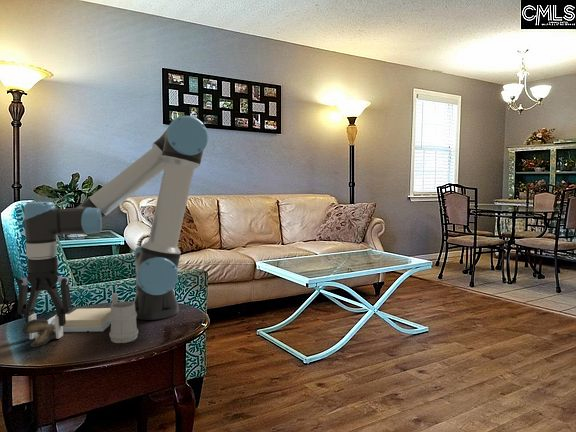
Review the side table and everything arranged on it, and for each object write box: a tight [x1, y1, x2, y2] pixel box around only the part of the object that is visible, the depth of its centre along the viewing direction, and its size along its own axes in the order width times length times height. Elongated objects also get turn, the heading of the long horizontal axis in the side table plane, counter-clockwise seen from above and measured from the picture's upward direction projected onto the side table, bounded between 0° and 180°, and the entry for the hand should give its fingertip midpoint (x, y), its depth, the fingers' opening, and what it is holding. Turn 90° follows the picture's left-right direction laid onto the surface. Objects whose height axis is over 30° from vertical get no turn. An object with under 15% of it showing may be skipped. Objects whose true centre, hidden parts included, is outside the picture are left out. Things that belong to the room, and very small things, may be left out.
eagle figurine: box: [21, 318, 56, 348], centre depth 122 cm, size 8×7×9 cm
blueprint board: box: [37, 307, 111, 334], centre depth 136 cm, size 20×14×3 cm
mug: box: [108, 292, 139, 344], centre depth 125 cm, size 8×12×12 cm, turn 44°
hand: (46, 337), depth 124 cm, fingers closed on eagle figurine, 7 cm apart
